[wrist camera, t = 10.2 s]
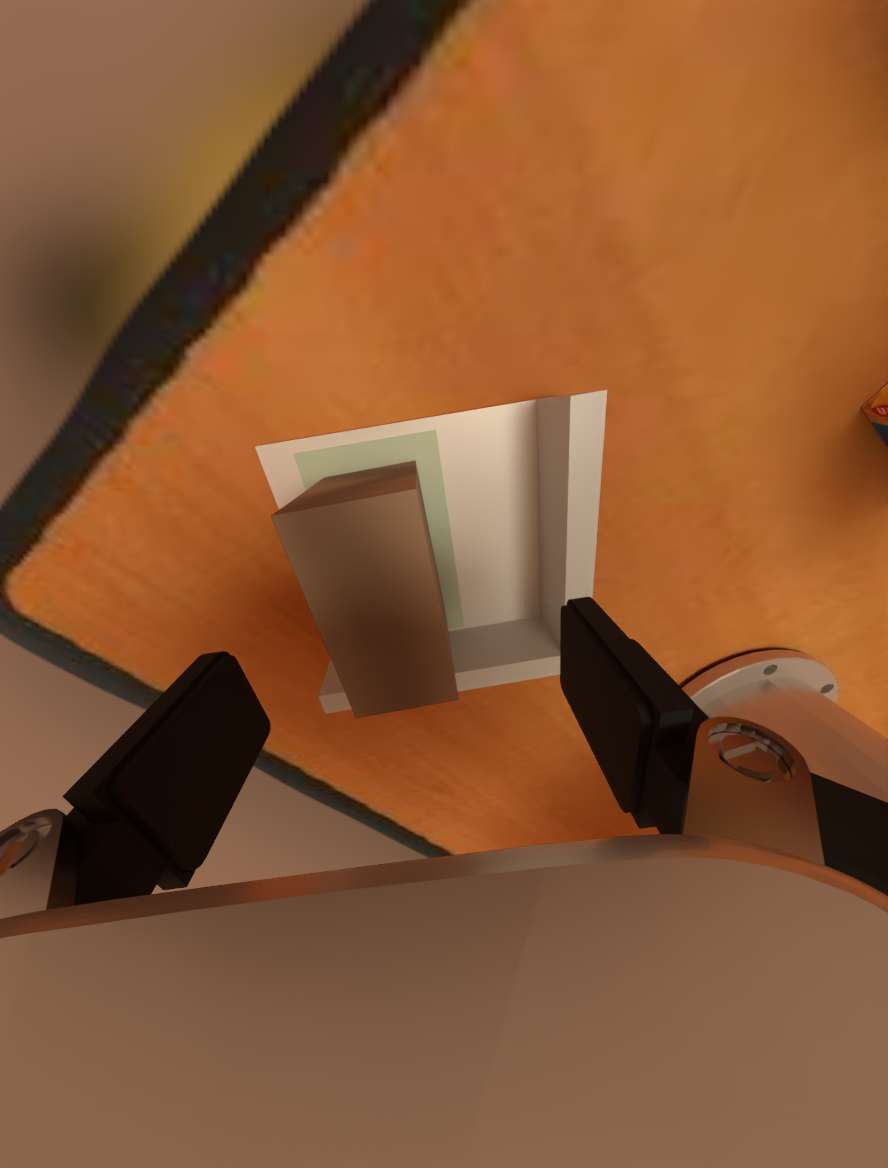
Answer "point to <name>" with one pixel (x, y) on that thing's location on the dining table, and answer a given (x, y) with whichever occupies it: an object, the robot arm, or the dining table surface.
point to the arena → (498, 525)
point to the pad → (432, 487)
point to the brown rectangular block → (373, 586)
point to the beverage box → (879, 413)
